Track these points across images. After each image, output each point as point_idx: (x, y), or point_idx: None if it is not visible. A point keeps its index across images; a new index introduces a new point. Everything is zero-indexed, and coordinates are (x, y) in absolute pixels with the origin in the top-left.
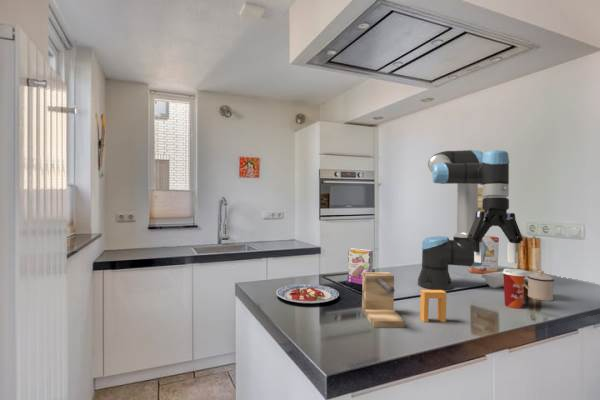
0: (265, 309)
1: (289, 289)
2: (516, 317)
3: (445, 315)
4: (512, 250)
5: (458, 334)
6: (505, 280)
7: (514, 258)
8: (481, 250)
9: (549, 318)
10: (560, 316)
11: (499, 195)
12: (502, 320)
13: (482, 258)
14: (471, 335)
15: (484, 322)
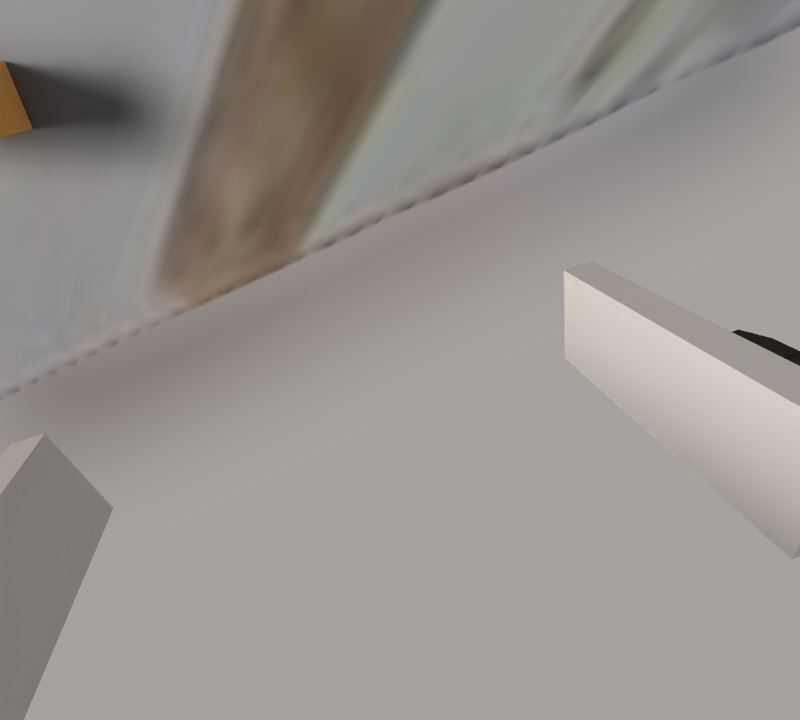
0: None
1: None
2: (523, 41)
3: (6, 135)
4: (679, 425)
5: (86, 294)
6: None
7: (597, 385)
8: (14, 683)
9: (681, 63)
10: (768, 29)
11: None
12: (407, 95)
13: (88, 557)
14: (148, 300)
15: (284, 130)
